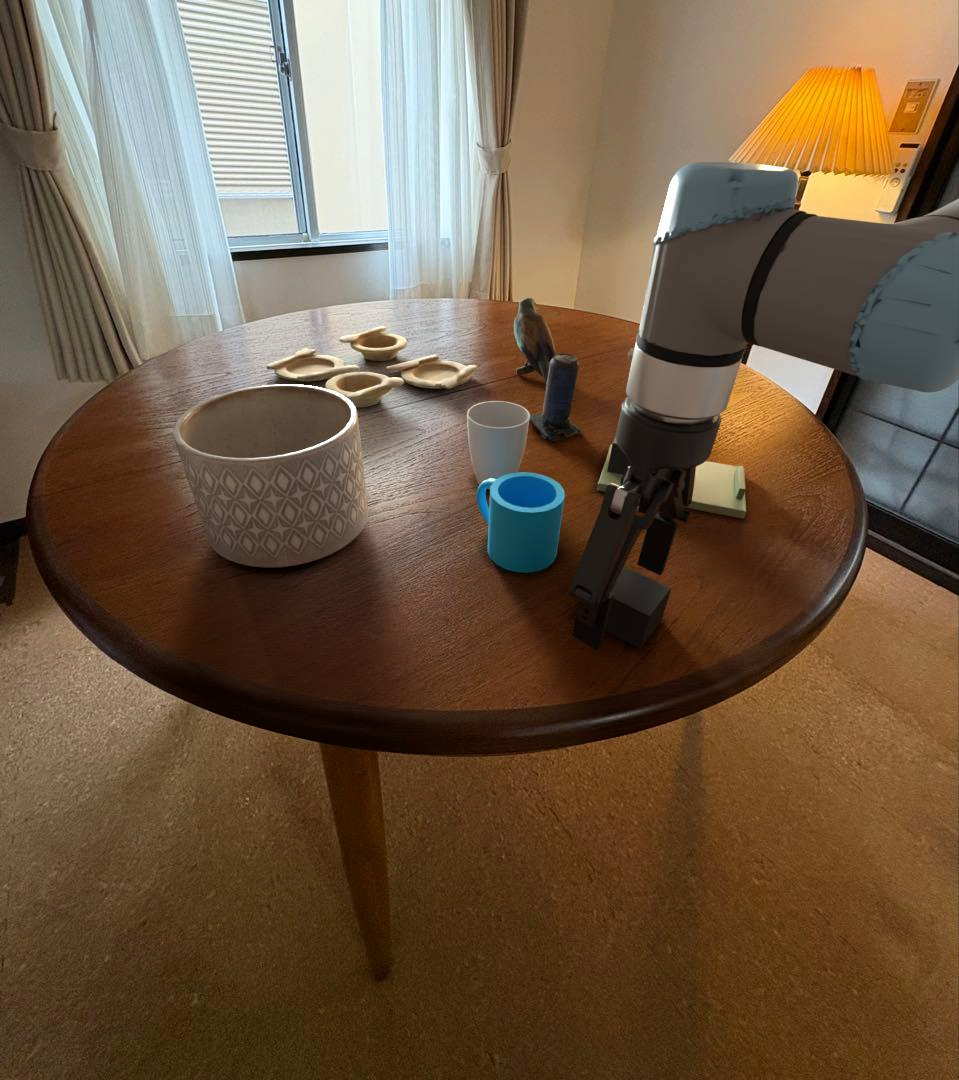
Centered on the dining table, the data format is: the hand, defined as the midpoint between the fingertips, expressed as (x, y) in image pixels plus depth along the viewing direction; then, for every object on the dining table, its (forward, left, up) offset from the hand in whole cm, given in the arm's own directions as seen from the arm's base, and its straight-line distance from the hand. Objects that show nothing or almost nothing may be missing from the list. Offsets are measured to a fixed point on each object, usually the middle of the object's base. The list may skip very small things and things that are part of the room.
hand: (620, 602), depth 56 cm
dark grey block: (0, 0, -2) cm, 2 cm away
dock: (+7, -29, -2) cm, 30 cm away
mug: (+16, -3, -2) cm, 16 cm away
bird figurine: (+43, -50, -2) cm, 66 cm away
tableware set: (+67, -28, -2) cm, 72 cm away
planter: (+38, +12, -2) cm, 40 cm away
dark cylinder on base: (+29, -32, -2) cm, 43 cm away
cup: (+26, -13, -2) cm, 29 cm away
